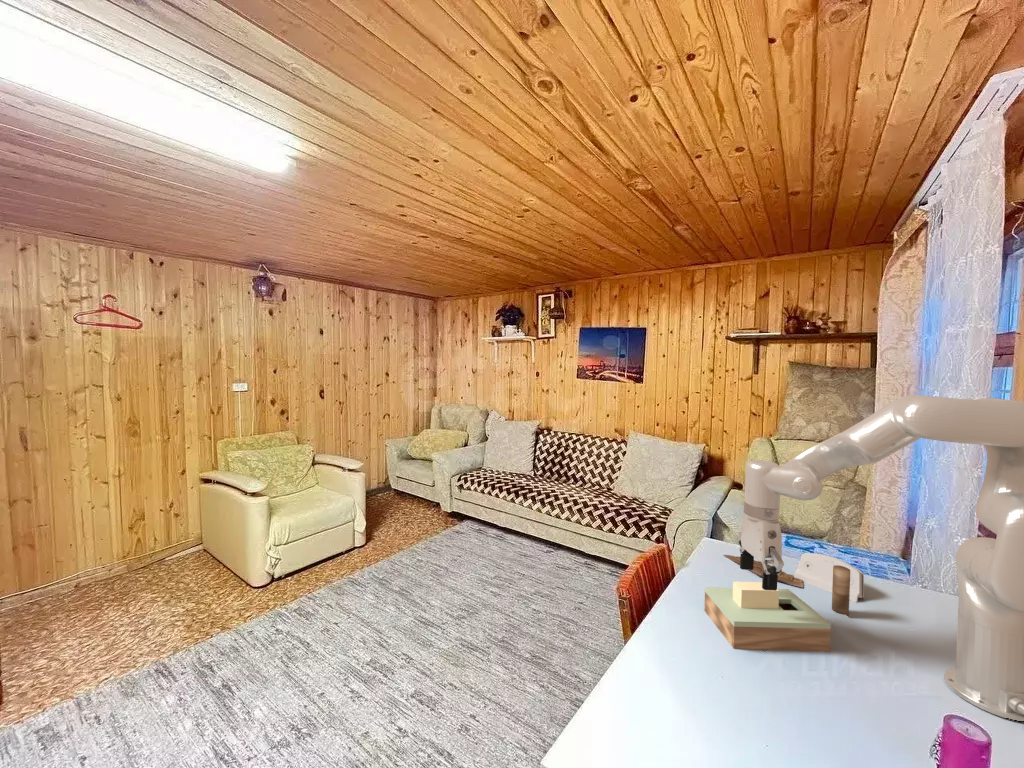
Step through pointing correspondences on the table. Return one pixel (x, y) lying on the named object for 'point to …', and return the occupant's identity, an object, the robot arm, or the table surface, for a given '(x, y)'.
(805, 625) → the lid
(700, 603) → the table surface
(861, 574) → the white curved device casing
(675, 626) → the table surface
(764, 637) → the box with square hole
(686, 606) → the table surface
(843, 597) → the pin
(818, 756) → the table surface
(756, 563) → the wooden fragment
